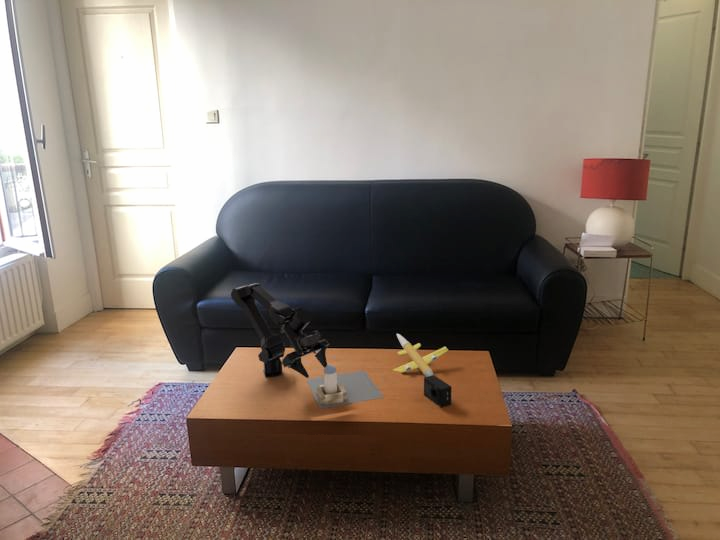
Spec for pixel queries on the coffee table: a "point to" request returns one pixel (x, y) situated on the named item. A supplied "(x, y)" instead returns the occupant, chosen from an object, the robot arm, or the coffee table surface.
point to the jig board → (350, 388)
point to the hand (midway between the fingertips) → (317, 372)
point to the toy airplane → (417, 357)
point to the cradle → (331, 395)
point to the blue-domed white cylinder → (330, 379)
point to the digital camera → (437, 391)
